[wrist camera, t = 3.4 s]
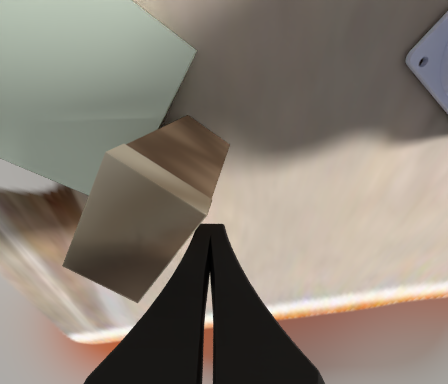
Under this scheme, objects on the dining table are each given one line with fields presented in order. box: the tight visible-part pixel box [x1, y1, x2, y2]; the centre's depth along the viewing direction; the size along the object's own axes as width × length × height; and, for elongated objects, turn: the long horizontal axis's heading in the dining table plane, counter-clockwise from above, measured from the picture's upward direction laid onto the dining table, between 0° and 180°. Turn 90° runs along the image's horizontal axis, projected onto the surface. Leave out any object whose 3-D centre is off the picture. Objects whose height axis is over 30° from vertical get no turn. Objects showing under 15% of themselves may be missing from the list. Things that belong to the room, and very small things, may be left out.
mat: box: [0, 0, 197, 196], centre depth 12 cm, size 12×13×2 cm
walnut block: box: [63, 115, 230, 303], centre depth 12 cm, size 4×6×9 cm, turn 146°
